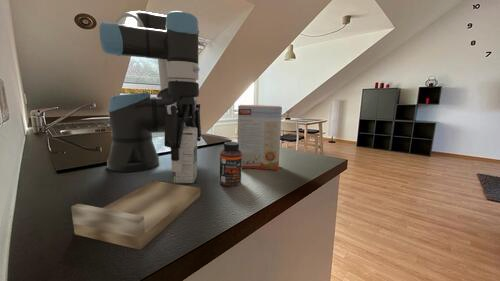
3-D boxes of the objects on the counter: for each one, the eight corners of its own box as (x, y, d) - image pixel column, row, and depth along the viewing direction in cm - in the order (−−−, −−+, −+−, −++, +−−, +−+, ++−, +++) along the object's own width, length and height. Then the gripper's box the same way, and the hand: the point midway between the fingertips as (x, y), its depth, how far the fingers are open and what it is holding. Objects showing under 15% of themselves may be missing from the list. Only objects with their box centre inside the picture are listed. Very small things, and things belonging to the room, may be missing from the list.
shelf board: (74, 234, 38) (71, 206, 37) (153, 188, 57) (152, 169, 56) (140, 249, 35) (138, 220, 34) (200, 195, 54) (200, 176, 53)
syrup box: (177, 175, 65) (175, 125, 62) (197, 175, 65) (197, 126, 62) (171, 183, 59) (170, 129, 56) (194, 183, 60) (194, 130, 57)
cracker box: (278, 165, 80) (281, 105, 76) (278, 170, 74) (282, 106, 70) (239, 162, 81) (240, 104, 77) (236, 168, 75) (237, 104, 71)
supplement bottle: (224, 188, 58) (224, 146, 56) (216, 180, 63) (216, 141, 61) (244, 185, 61) (246, 144, 59) (235, 177, 66) (236, 140, 64)
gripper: (174, 78, 47) (177, 182, 51) (213, 83, 65) (212, 159, 70) (143, 77, 48) (148, 178, 53) (190, 82, 67) (191, 156, 72)
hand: (185, 167), depth 62 cm, fingers closed on syrup box, 7 cm apart
